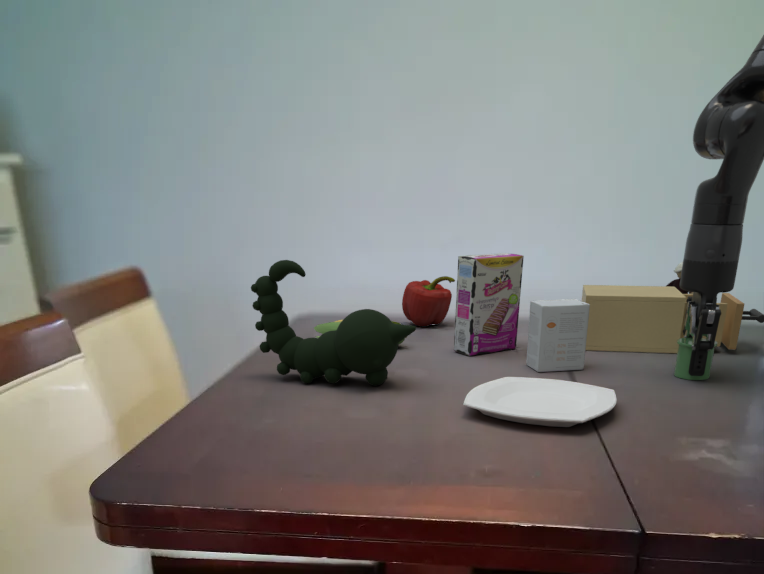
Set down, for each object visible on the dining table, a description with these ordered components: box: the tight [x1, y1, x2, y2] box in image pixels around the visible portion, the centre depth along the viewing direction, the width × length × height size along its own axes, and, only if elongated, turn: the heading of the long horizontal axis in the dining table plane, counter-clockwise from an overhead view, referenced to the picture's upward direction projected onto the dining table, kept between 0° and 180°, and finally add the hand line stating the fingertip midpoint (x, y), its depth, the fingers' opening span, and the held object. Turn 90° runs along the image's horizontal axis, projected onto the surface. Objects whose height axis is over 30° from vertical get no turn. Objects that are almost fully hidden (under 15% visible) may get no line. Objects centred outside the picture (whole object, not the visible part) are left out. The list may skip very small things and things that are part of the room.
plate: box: [463, 376, 618, 428], centre depth 99 cm, size 19×19×2 cm
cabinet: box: [581, 284, 686, 354], centre depth 136 cm, size 17×14×10 cm
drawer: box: [680, 292, 764, 350], centre depth 134 cm, size 20×12×8 cm, turn 78°
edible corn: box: [313, 319, 408, 346], centre depth 139 cm, size 5×20×5 cm, turn 61°
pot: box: [673, 338, 718, 381], centre depth 115 cm, size 6×6×5 cm
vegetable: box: [401, 275, 456, 327], centre depth 155 cm, size 11×10×10 cm
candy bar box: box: [453, 252, 525, 357], centre depth 130 cm, size 11×5×16 cm, turn 123°
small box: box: [525, 298, 590, 373], centre depth 120 cm, size 8×6×10 cm
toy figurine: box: [250, 259, 417, 387], centre depth 111 cm, size 9×19×25 cm
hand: (692, 370), depth 116 cm, fingers closed on pot, 5 cm apart
